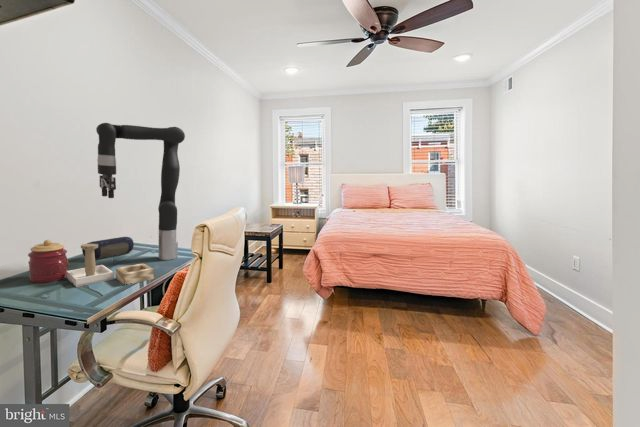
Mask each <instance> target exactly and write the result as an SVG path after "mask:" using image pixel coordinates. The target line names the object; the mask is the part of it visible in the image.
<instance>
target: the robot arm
mask: <svg viewBox="0 0 640 427" xmlns="http://www.w3.org/2000/svg"><path fill="white" fill-rule="evenodd" d="M95 131H96V133H97V135H98V144H97V174H99V188H100V189H101V196H102V197H107V198H108V199H114V197H115V190H117V186H116V185H117V183H116V176H115V177H114V175H117V159H116V139H122V140H134V141H135V140H136V141H137V140H138V141H139V140H140V141H146V140H147V141H149V140H150V141H163V155H162V161H161V163H162V164H161V173H160V188H161V192H160V199H159V204H158V208H157V209H158V259H159V260H161V261H171V260H174V259H177V258H178V257H179V255H178V254H179V253H178V251H179V242H178V241H177V228H178V227H177V226H178V207H177V206H176V192H177V189H178V188H177V187H178V184H179V181H180V161H179V156H178V150H179V144H181V143H182V142H184V141H185V138H186V134H185V132H184V130H182V128H180V127H177V126H169V127H150V126H142V125H141V126H140V125H132V124H121V125H120V124H112V123H109V122H102V123H100V124H98V125H97V126H96V130H95Z"/></svg>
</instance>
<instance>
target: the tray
mask: <svg viewBox="0 0 640 427" xmlns="http://www.w3.org/2000/svg"><path fill="white" fill-rule="evenodd" d="M66 274H67V277H66V279H67V280H68V281H69V282H70V283H71V284H72V283H73V284H72V285H73V286H74V287H75V286H76V288H79V287H80V288H81V287H84V285H85V286H89V285H93V284H94V285H95V284H98V283H102V282H109V281H113V280H114V279H115V273H114V271H112V270H111V269H110V268H108V267H107V266H105V265H104V264H100V265H96V269H95V273H94V274H95V275H92V276H87V277H86V273H85V267H81V268H76V269H71V270H68V271H66ZM88 284H89V285H88Z"/></svg>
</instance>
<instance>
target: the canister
mask: <svg viewBox="0 0 640 427" xmlns="http://www.w3.org/2000/svg"><path fill="white" fill-rule="evenodd" d="M64 248H65V245H64V244H61V243H59V242H52V240H50V239H46V240H44V241H43V243H38V244H36V245H34V246H33V247H30V249H29V250H30V251H31V252H29V253H27V256H28V257H29V260H28V269H29V274H28V277H29V278H28V279H29V281H30V282H32V283H39V284H43V283H52V282H57V281H60V280H63V279H65V278H67V274H66V271H69V270H68V268H67V260H68V257H67V255H66V254H67V252H68V250H66V249H64Z"/></svg>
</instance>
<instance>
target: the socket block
mask: <svg viewBox="0 0 640 427" xmlns="http://www.w3.org/2000/svg"><path fill="white" fill-rule="evenodd" d="M154 270H155V269H154V268H153V267H151V266H149V265H148V264H145V263H137V264H133V265H127V266H121V267H116V268H115V279H116V280H118V281H119V282H120V283H121V284H123V285H124V284H125V285H124V286H127V285H126V284H129V285H133V284H137V283H141V282H146V281H150V280H154V277H155V276H154V274H155V273H154V272H155V271H154ZM130 283H132V284H130Z"/></svg>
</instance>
